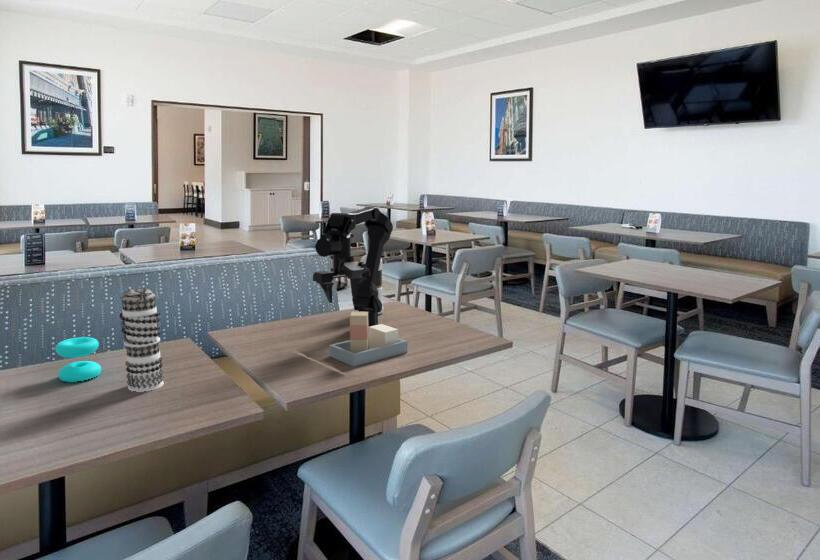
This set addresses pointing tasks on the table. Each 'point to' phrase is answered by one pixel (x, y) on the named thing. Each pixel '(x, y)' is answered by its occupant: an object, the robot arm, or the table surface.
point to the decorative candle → (141, 340)
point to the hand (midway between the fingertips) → (342, 300)
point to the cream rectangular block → (382, 336)
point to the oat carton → (359, 331)
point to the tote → (366, 352)
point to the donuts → (81, 368)
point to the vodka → (379, 278)
